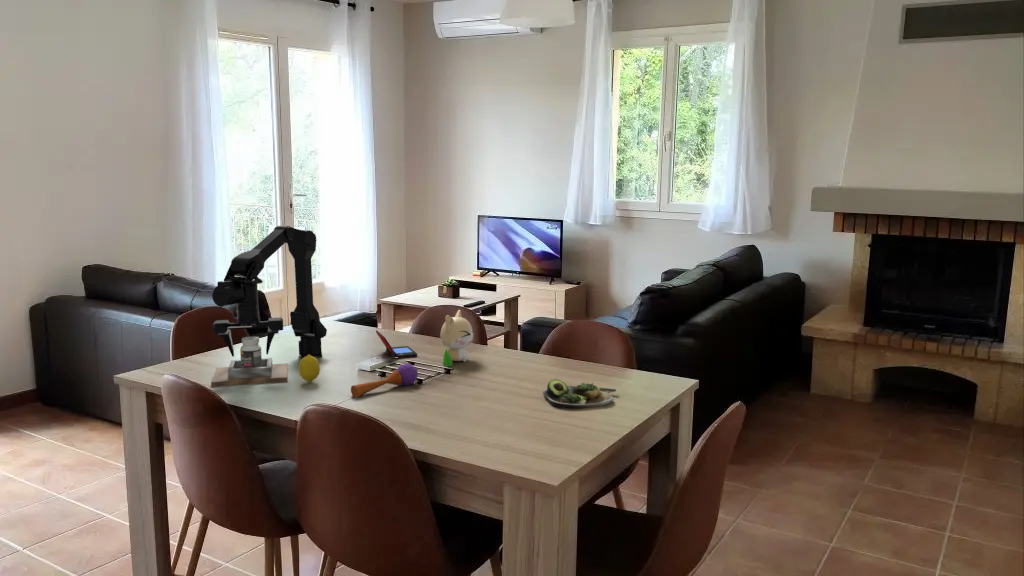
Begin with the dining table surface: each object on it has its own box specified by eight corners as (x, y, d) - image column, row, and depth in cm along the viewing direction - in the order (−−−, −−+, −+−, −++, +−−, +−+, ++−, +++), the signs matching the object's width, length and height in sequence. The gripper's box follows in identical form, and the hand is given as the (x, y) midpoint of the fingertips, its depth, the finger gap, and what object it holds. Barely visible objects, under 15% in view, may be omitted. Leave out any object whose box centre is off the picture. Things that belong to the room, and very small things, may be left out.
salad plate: (605, 387, 220) (606, 371, 219) (629, 407, 203) (629, 389, 202) (537, 392, 216) (537, 375, 215) (555, 412, 198) (555, 394, 198)
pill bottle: (236, 373, 228) (235, 339, 226) (250, 368, 233) (248, 335, 232) (253, 375, 226) (251, 341, 224) (266, 370, 231) (264, 336, 230)
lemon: (324, 381, 224) (323, 353, 223) (311, 386, 220) (310, 357, 218) (308, 379, 227) (307, 351, 226) (295, 384, 222) (294, 355, 221)
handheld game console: (418, 357, 253) (417, 334, 251) (384, 360, 249) (383, 337, 248) (408, 348, 264) (407, 326, 263) (375, 351, 260) (375, 329, 259)
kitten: (462, 368, 239) (462, 318, 237) (431, 365, 242) (430, 316, 240) (480, 356, 253) (480, 309, 251) (451, 354, 256) (450, 307, 254)
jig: (287, 367, 240) (287, 355, 239) (287, 381, 225) (286, 368, 224) (216, 371, 235) (216, 359, 234) (211, 386, 219) (210, 373, 219)
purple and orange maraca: (346, 380, 212) (406, 361, 225) (350, 402, 212) (411, 382, 226) (358, 380, 207) (419, 361, 221) (362, 403, 208) (423, 382, 221)
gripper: (282, 294, 236) (284, 346, 239) (214, 297, 232) (218, 350, 234) (281, 301, 226) (284, 355, 228) (211, 304, 221) (214, 359, 223)
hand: (250, 355), depth 229 cm, fingers open, 9 cm apart
